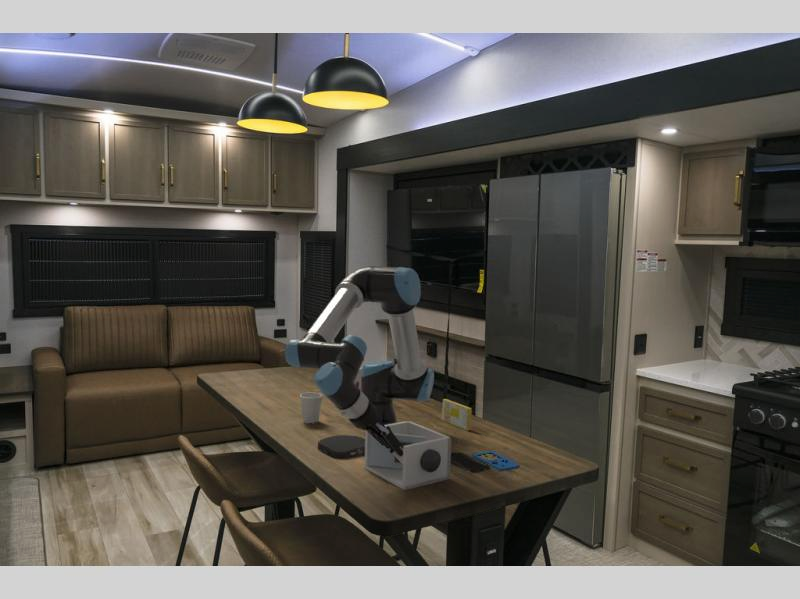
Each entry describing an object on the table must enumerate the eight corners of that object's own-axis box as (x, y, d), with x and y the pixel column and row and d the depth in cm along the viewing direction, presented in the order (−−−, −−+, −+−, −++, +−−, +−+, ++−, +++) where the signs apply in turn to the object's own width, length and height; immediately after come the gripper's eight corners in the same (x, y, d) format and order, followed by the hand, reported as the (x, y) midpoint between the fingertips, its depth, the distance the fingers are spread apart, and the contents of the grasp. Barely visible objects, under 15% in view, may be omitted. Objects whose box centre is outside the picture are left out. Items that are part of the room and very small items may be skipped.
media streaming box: (350, 440, 214) (350, 431, 214) (376, 452, 203) (376, 443, 202) (313, 448, 205) (313, 439, 205) (337, 461, 193) (338, 451, 193)
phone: (458, 451, 202) (491, 465, 190) (458, 455, 202) (491, 469, 190) (439, 456, 197) (471, 470, 185) (439, 459, 197) (471, 474, 185)
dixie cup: (294, 422, 232) (295, 395, 231) (307, 417, 240) (308, 391, 239) (314, 425, 228) (314, 398, 228) (326, 420, 236) (326, 393, 235)
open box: (408, 492, 169) (409, 448, 168) (364, 468, 187) (365, 428, 186) (453, 480, 179) (455, 439, 178) (407, 458, 196) (408, 420, 195)
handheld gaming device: (500, 468, 188) (471, 453, 201) (500, 472, 188) (470, 456, 201) (522, 464, 192) (492, 449, 205) (521, 467, 192) (492, 453, 205)
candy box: (471, 430, 228) (472, 408, 227) (466, 431, 227) (467, 408, 226) (445, 419, 242) (446, 398, 241) (441, 420, 241) (441, 398, 240)
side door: (423, 472, 181) (424, 438, 180) (368, 466, 185) (369, 432, 184) (424, 470, 182) (425, 436, 181) (370, 464, 186) (370, 431, 185)
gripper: (336, 414, 173) (384, 464, 184) (362, 425, 163) (411, 477, 174) (354, 393, 176) (400, 443, 187) (380, 403, 165) (427, 455, 176)
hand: (405, 460), depth 180 cm, fingers closed
